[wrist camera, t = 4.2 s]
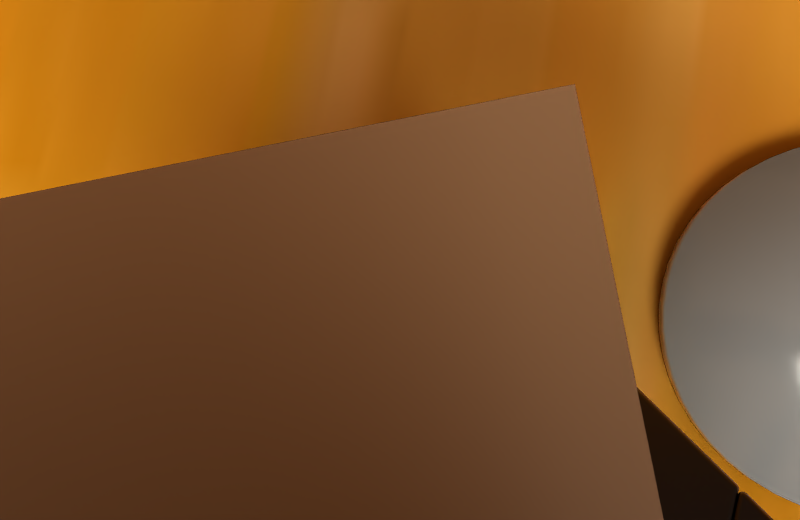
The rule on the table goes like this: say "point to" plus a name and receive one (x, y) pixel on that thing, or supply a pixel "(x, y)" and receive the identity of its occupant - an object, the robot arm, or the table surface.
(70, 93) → the table surface
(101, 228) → the oak block
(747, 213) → the slate coaster
